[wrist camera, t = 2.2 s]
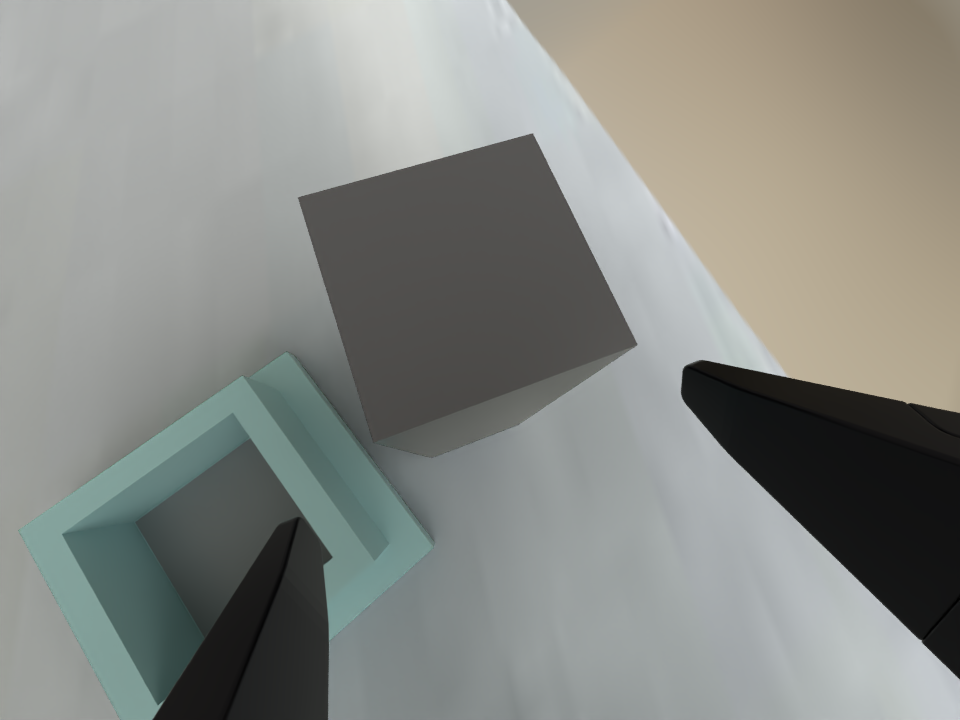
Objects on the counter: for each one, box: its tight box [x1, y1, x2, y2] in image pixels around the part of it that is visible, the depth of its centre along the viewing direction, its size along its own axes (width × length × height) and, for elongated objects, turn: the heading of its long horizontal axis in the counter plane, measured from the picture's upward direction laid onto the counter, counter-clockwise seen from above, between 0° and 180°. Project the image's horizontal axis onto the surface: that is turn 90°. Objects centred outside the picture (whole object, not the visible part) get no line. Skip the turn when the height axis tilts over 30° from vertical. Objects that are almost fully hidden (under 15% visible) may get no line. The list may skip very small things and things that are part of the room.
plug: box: [298, 134, 637, 458], centre depth 13 cm, size 4×4×13 cm
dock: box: [18, 351, 435, 720], centre depth 15 cm, size 11×11×4 cm
